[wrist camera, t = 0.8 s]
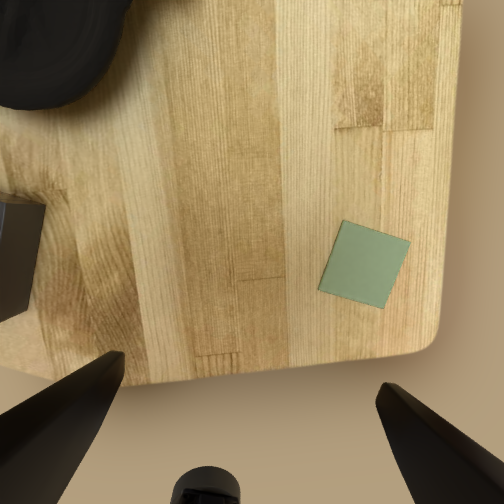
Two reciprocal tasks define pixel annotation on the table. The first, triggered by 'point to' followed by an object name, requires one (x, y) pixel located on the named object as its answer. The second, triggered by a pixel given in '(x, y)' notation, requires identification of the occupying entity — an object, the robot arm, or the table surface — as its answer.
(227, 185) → the table surface
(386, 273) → the pad
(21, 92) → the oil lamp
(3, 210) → the dark grey square frame
